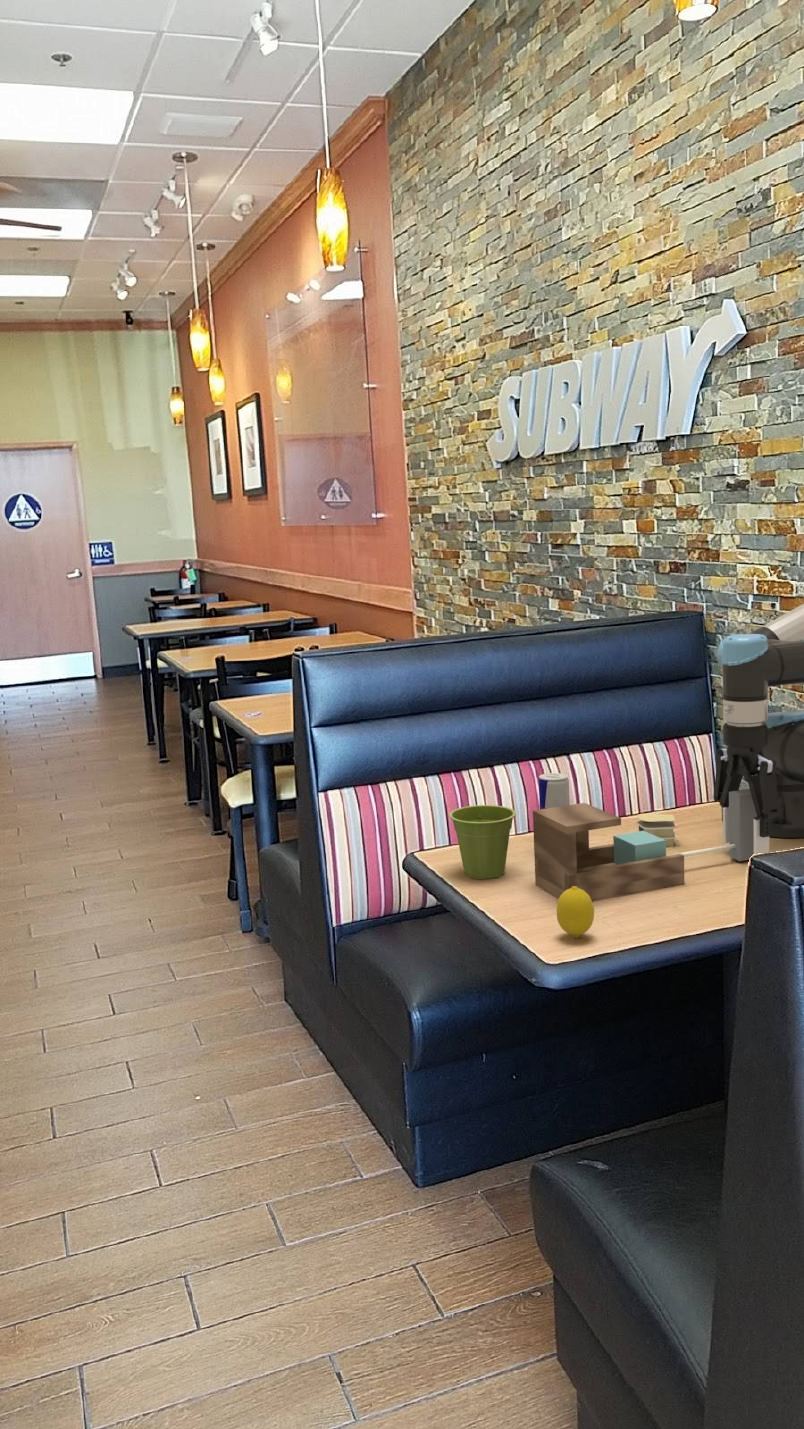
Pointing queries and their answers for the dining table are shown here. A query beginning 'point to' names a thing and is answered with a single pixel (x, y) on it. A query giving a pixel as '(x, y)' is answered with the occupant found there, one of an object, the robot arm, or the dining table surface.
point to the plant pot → (483, 838)
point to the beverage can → (553, 790)
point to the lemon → (575, 911)
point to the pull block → (739, 847)
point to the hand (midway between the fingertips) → (745, 847)
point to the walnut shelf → (592, 856)
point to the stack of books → (658, 826)
